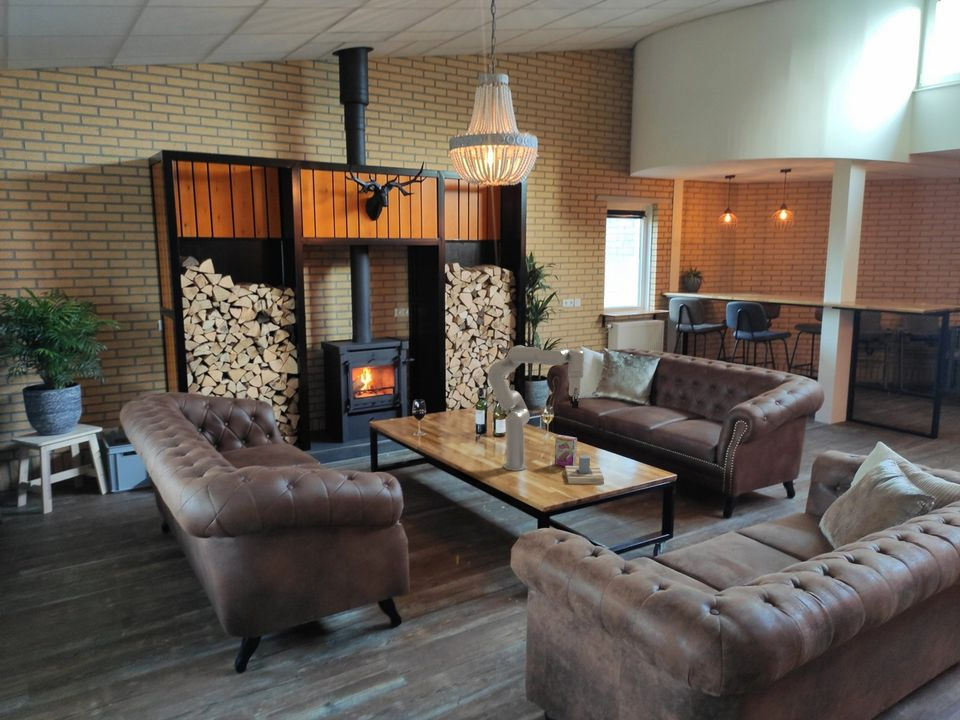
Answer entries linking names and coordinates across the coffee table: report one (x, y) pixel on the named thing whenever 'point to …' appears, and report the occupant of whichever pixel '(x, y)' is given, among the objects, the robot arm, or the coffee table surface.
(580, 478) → the birch base
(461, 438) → the coffee table surface
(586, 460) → the slate block
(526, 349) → the robot arm
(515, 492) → the coffee table surface
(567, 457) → the candy bar box
